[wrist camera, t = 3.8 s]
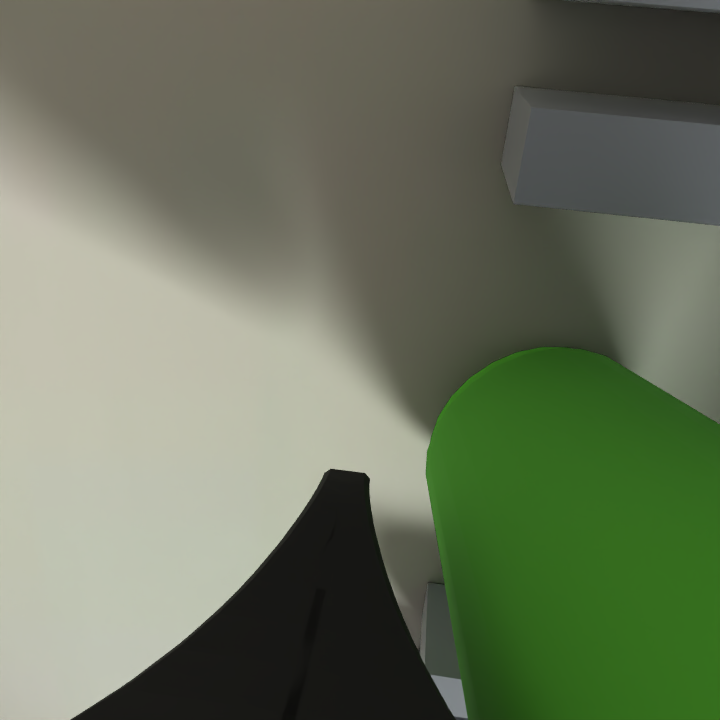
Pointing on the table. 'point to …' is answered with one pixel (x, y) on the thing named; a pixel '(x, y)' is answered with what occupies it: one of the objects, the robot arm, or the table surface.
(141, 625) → the table surface
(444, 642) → the rack
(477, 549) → the cup
